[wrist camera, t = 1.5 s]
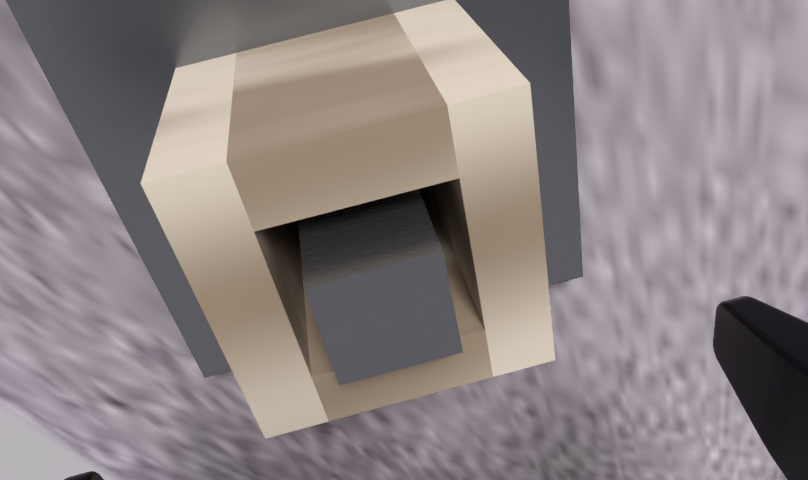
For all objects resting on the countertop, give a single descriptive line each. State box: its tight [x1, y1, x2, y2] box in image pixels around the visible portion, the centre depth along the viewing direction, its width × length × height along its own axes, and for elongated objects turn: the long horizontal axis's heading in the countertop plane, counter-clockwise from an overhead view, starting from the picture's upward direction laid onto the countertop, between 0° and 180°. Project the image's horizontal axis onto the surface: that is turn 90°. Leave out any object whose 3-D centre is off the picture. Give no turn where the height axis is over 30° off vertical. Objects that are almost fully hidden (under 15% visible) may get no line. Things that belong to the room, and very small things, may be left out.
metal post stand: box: [6, 0, 583, 386], centre depth 14 cm, size 11×11×7 cm
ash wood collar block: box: [141, 0, 555, 439], centre depth 14 cm, size 6×6×5 cm
